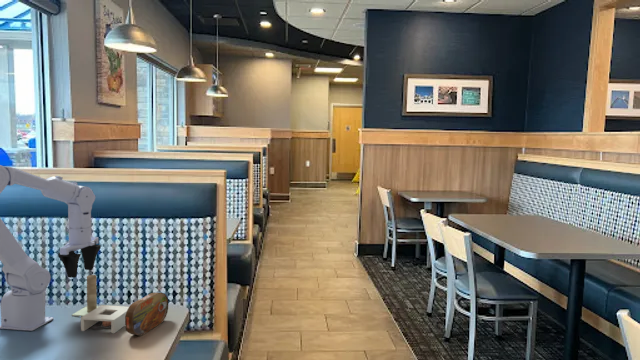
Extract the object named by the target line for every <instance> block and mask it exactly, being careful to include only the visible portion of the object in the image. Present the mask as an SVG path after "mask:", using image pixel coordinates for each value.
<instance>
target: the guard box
mask: <svg viewBox="0 0 640 360" xmlns="http://www.w3.org/2000/svg"><path fill="white" fill-rule="evenodd" d="M129 307H130V306H123V305H106V304H101V305H99V307H98V308H96V309H94V310H93V311H91V312H89V313H88V314H86V315H84V316H83V317H80V331H81V332H85V331H86V330H88V329H89V328H91V327H93V325H96V324H97V323H99V322H102V321H110V322H111V325H110V326H103V325H102V323H101V324H100V325H99V326H98V328H106V329H107V328H109V329H110V330H111V334H115V333H117V332H118V331H119V330H121V329H122V328H123V327H126V325H125V315H126V312H127V310H128V308H129Z"/></svg>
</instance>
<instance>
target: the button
mask: <svg viewBox="0 0 640 360" xmlns="http://www.w3.org/2000/svg"><path fill="white" fill-rule="evenodd" d="M101 324H102V325H103V326H110V325H111V322H110V321H101Z"/></svg>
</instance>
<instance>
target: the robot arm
mask: <svg viewBox="0 0 640 360" xmlns="http://www.w3.org/2000/svg"><path fill="white" fill-rule="evenodd" d="M13 185H19V186H23V187H26V188H30V189H35V190H38V191H40V192H41V194H42V196H44V197H45V198H49V199H52V200H56V201H59V202H62V203H65V204H66V205H67V207H68V208H67V213H68V214H67V215H68V242H67V243H66V244H64V245H63V246H61V247H59V253H58V255H57V256H58V258H59V260H61V263H62V264H63V266H64V268H65V269H64V270H65V272H66V275H67V277H68V278H71V279H72V278H76V277H77V276H78V265H79V261H80V259H81V258H80V257H81V255H82V258H83V266H84V270H85V271H93V269H94V266H95V263H96V259H97V256H98V253H99V251H100V249H101V247H102V246H101V244H99V236H92V209H93V205H94V202H95V200H96V195H95V194H94V192H93V190H92V188H91V187H89V186H83V185H78V182H76V181H72V182H71V181H68V180H65V179H64V178H63V176H60V175H55V176H50V177H47V178H43V177H41V176H38V175H35V174H32V173H29V172H27V171H24V170H21V169H19V168H16V167H11V166H5V165H4V166H3V165H1V164H0V194H1V193H2V192H3V191H4V190H5V189H6V187H7V186H10V187H11V186H13ZM79 250H80V251H81V253H76V251H79ZM0 263H1V264H2V265H3V266H2V269H1V271H2V272H3V273H4V276H5V282H6V284H7V285H8V286H10V290H8V291H7V292H5V293H4V294H3V296H2V298H1V301H0V323H1V324H0V329H1V330H2V329H3V330H4V329H5V330H15V331H17V330H18V331H29V332H30V331H35V330H37V329H39V328H40V327H42V326H43V325H45V324H48V323H49V322H51V321H53V320H54V317H52V316H46V295H45V294H46V289H47V288H48V287H49V284H50V282H51V277H52V276H51V272H49V270H48V269H46V268H44V267H42V266H41V265H40V264H39V263H38V262H37V261H36V260H34V259H33V258H32V257H30V256H28V255H27V253H26V252H25V250H24V249H23V248H22V245H20V243H19V242H18V240H17V239H16V238H15V236H14V235H13V233H12V232H11V231H10V229H9V227H7V225H6V224H5V223H4V221H3V220H2V218H1V217H0Z"/></svg>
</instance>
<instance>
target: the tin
mask: <svg viewBox="0 0 640 360" xmlns="http://www.w3.org/2000/svg"><path fill="white" fill-rule="evenodd" d="M128 307H129V308H128V310H127V312H126V315H125V330H126V332H128V333H129V334H131V335H135V336H143V335H145V334H146V333H149V332H150V331H151V330H153V329H154V328H155V327H157V326H159V325H160V324H162V323H163V322H164V321H165V319H166V317H167V314H168V311H169V299H168V297H167V294H165V293H164V292H161V291H160V292H151V293H149V294H147V295H145V296H144V297H142V298H140V299H138V300H136V301H134V302H132V304H130V305H129V306H128Z"/></svg>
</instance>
